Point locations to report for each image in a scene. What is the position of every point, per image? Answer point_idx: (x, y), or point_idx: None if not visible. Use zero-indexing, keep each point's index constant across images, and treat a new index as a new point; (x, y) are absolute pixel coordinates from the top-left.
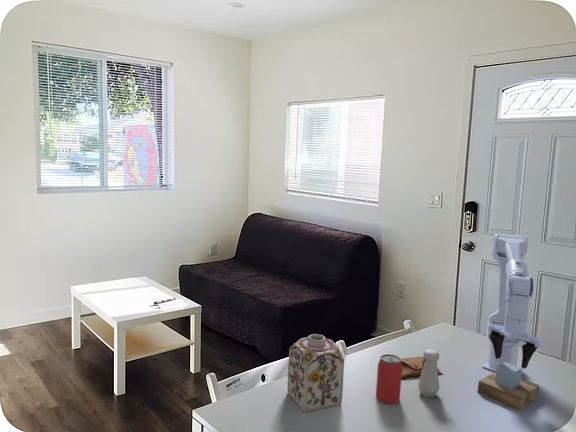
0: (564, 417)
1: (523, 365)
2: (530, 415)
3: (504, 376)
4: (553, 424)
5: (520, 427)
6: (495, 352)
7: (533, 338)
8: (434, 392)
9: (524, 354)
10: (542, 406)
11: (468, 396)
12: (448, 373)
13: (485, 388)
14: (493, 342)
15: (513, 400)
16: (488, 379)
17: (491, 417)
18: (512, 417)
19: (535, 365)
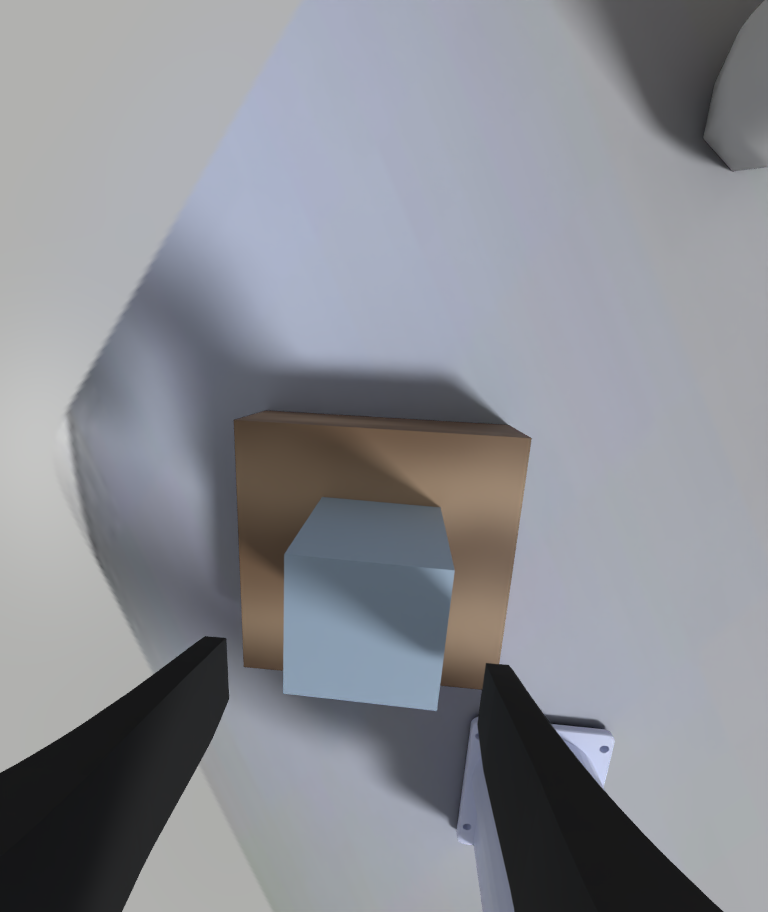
0: (105, 521)
1: (183, 653)
2: (203, 407)
3: (373, 530)
4: (98, 411)
5: (171, 227)
6: (534, 714)
7: None
8: (734, 43)
9: (39, 784)
10: (213, 546)
11: (527, 327)
12: (744, 515)
13: (469, 429)
14: (662, 888)
15: (284, 417)
16: (489, 513)
17: (320, 191)
18: (248, 302)
19: (417, 906)
